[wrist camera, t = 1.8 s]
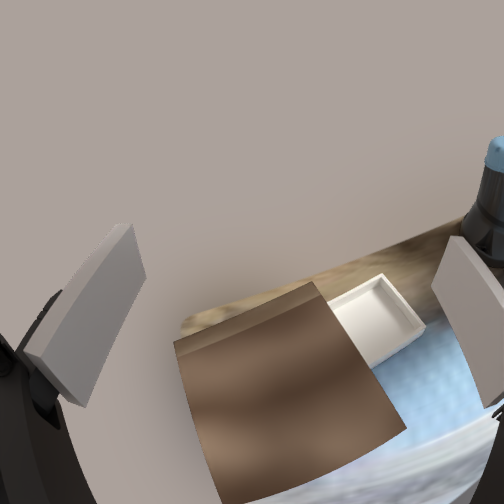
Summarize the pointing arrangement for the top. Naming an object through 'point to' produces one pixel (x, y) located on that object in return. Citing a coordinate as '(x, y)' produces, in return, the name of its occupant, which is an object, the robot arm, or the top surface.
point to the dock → (281, 397)
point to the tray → (377, 319)
